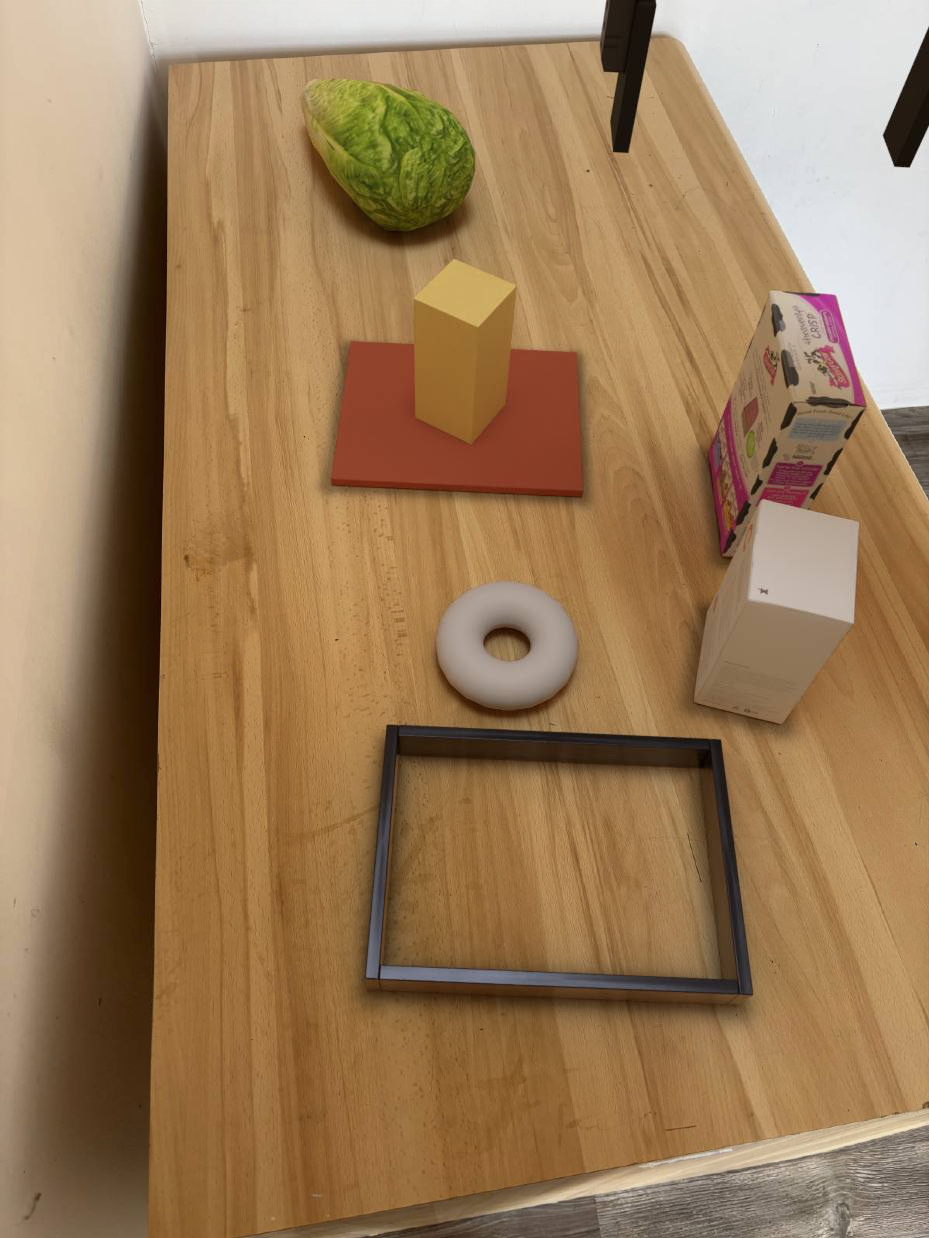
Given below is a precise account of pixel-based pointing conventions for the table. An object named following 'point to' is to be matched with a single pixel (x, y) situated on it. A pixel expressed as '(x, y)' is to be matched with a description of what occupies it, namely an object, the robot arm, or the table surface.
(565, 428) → the mat
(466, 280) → the carton
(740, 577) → the small box
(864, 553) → the table surface
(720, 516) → the candy bar box
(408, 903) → the table surface
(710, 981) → the frame
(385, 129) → the lettuce
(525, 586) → the donut
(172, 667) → the table surface
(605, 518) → the table surface
